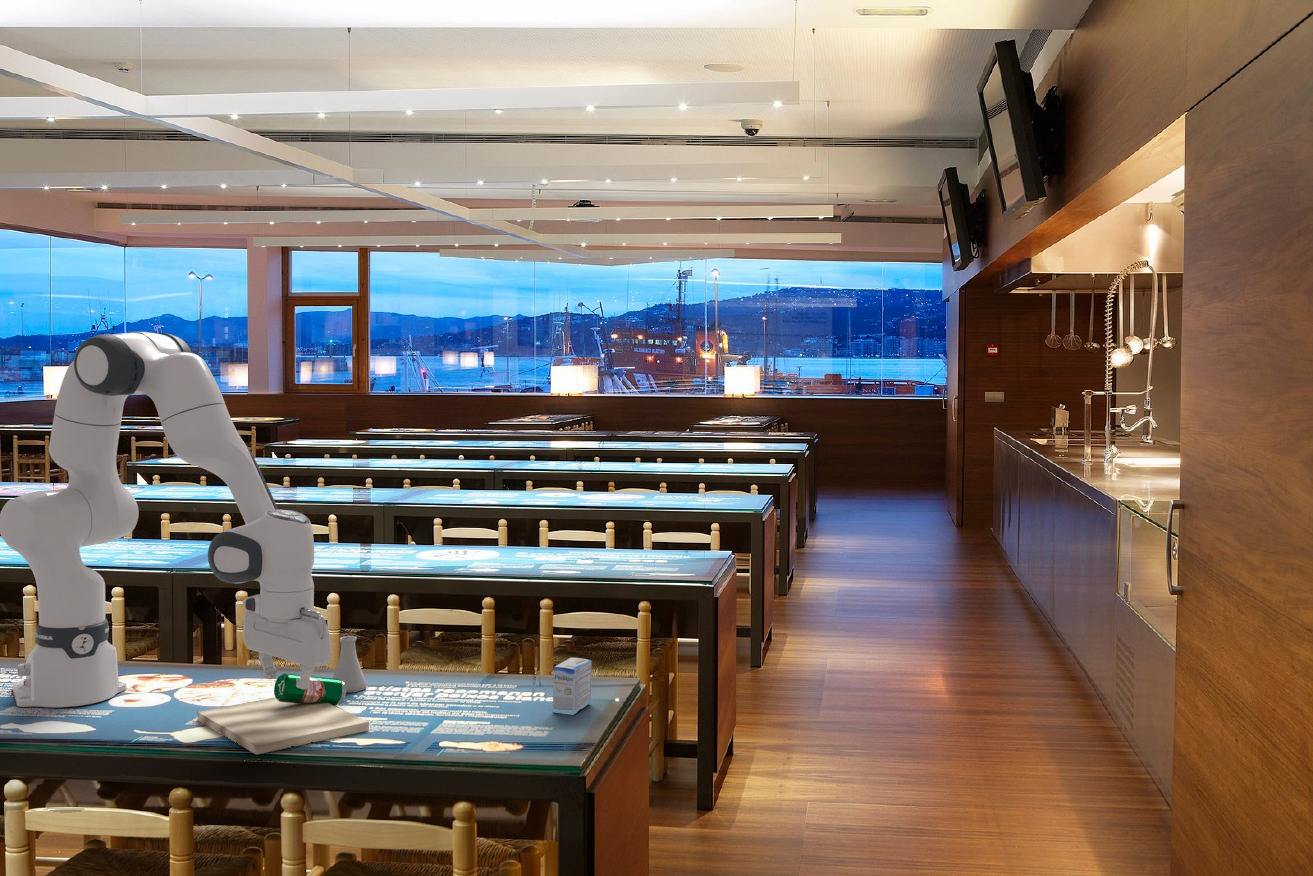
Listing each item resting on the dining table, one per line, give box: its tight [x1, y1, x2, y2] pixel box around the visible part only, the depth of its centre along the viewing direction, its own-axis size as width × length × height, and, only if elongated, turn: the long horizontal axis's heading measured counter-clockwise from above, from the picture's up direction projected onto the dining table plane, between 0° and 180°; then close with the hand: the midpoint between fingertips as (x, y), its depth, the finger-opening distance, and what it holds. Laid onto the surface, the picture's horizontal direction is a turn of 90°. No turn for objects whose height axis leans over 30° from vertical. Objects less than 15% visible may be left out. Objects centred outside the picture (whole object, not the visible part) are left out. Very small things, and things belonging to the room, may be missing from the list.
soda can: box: [273, 672, 347, 707], centre depth 214 cm, size 5×5×12 cm
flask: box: [332, 635, 368, 693], centre depth 229 cm, size 7×7×10 cm
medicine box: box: [552, 657, 593, 710], centre depth 218 cm, size 8×4×9 cm, turn 161°
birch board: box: [196, 697, 370, 755], centre depth 205 cm, size 24×20×2 cm
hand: (286, 683), depth 206 cm, fingers open, 8 cm apart
